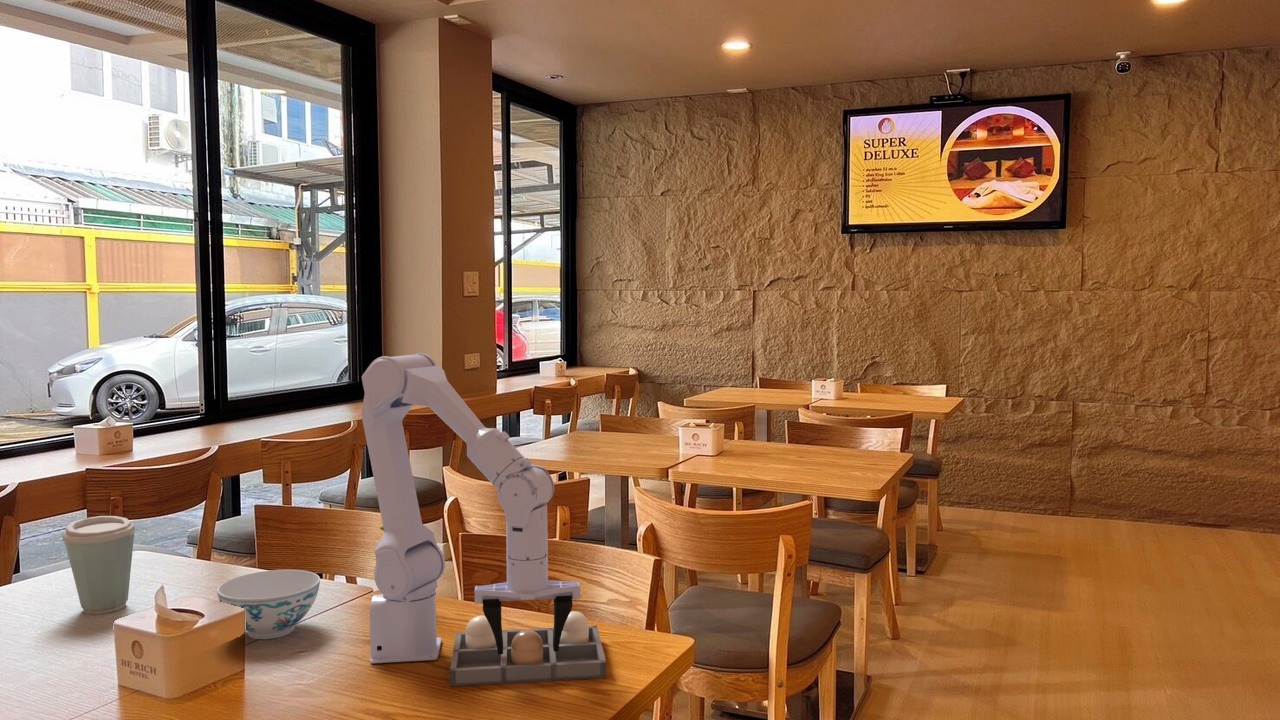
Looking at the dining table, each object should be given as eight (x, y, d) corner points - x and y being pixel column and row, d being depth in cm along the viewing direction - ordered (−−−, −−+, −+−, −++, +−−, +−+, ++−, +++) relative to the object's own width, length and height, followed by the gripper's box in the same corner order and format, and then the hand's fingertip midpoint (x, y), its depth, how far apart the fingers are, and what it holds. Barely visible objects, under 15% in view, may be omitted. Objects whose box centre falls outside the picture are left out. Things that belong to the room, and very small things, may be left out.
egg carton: (449, 686, 125) (449, 644, 125) (456, 646, 139) (455, 609, 139) (606, 677, 128) (606, 636, 127) (597, 639, 142) (596, 602, 142)
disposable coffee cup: (151, 605, 158) (148, 519, 157) (86, 624, 149) (82, 532, 148) (118, 595, 164) (114, 511, 163) (53, 612, 155) (48, 524, 154)
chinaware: (308, 609, 156) (307, 564, 156) (332, 636, 144) (331, 587, 143) (211, 626, 148) (209, 579, 148) (228, 657, 136) (226, 605, 135)
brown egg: (511, 675, 128) (510, 637, 127) (511, 663, 132) (511, 626, 132) (543, 673, 128) (543, 635, 128) (542, 661, 133) (542, 624, 132)
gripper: (473, 565, 124) (474, 664, 125) (581, 560, 126) (581, 658, 127) (475, 551, 131) (476, 644, 132) (577, 547, 133) (578, 639, 134)
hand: (528, 650), depth 130 cm, fingers open, 7 cm apart
